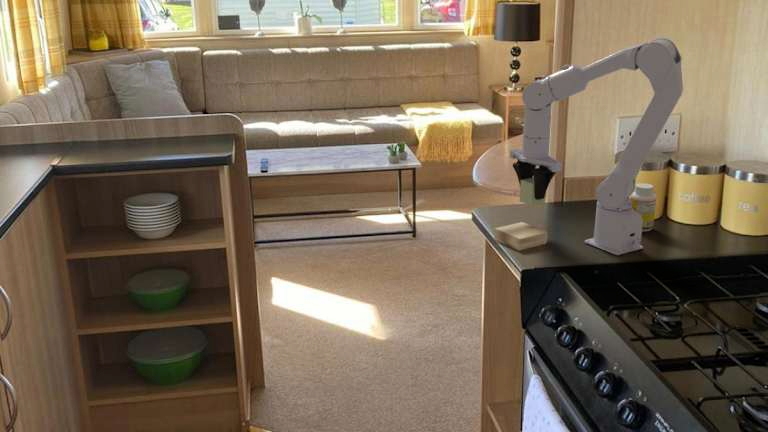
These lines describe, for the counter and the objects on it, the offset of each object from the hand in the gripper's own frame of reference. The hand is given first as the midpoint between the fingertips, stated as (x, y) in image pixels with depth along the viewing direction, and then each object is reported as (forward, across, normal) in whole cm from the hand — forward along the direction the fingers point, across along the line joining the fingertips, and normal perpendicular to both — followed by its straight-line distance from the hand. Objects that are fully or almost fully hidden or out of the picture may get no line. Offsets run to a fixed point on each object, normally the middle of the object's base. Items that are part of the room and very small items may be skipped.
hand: (532, 196), depth 176 cm
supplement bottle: (+9, +11, +23) cm, 27 cm away
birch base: (+9, +4, -6) cm, 11 cm away
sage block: (+1, 0, 0) cm, 1 cm away
